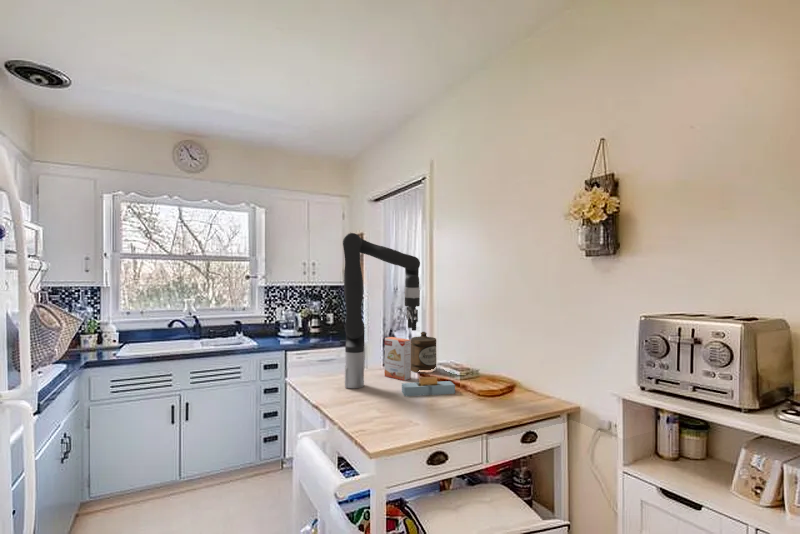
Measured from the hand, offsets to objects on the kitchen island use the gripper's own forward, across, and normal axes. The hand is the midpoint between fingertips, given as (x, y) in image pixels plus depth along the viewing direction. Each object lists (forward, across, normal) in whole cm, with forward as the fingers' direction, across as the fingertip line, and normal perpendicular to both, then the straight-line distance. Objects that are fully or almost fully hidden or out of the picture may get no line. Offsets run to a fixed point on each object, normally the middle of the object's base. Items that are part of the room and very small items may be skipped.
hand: (411, 329), depth 211 cm
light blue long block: (+28, +13, +5) cm, 31 cm away
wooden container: (+28, -30, +14) cm, 44 cm away
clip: (+28, +13, +5) cm, 31 cm away
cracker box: (+28, -16, -4) cm, 33 cm away
